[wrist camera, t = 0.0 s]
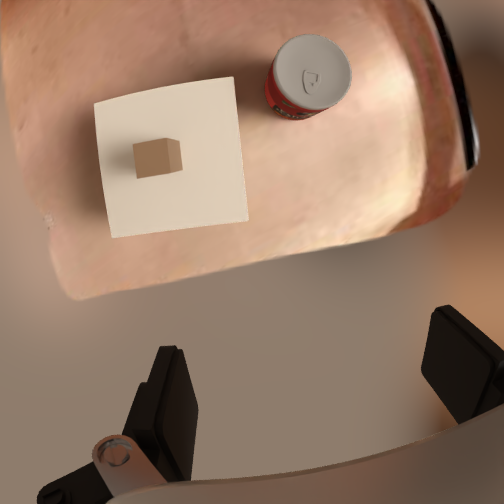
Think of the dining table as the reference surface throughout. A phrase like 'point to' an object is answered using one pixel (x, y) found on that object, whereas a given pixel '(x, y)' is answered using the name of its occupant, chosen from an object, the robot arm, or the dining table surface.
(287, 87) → the canned food
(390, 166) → the dining table surface
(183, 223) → the lid
